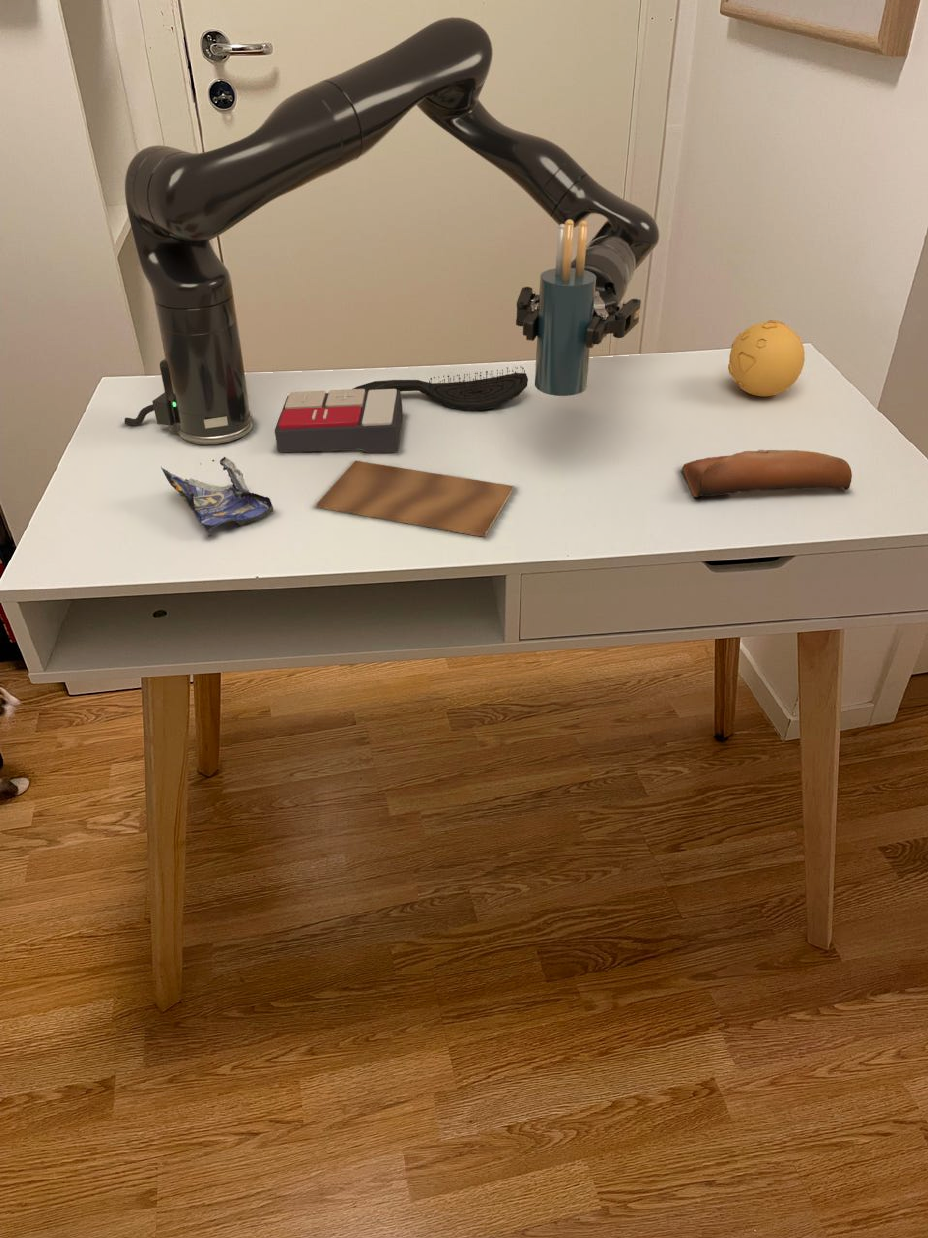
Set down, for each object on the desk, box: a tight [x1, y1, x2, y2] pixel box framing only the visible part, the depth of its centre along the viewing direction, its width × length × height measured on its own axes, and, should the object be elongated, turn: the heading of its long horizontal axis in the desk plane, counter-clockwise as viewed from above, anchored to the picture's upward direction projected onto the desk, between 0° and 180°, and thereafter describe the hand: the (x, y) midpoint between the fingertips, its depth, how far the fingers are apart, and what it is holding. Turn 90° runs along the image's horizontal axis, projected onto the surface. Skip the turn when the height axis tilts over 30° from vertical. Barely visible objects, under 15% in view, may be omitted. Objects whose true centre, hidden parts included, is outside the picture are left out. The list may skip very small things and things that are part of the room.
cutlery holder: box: [534, 219, 596, 397], centre depth 102 cm, size 6×6×18 cm
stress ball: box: [727, 319, 806, 397], centre depth 131 cm, size 10×10×10 cm
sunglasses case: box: [681, 449, 853, 499], centre depth 113 cm, size 18×7×7 cm, turn 96°
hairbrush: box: [352, 365, 529, 412], centre depth 132 cm, size 8×4×25 cm
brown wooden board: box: [316, 460, 514, 538], centre depth 111 cm, size 20×11×1 cm, turn 72°
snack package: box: [160, 456, 274, 538], centre depth 107 cm, size 12×6×12 cm
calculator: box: [274, 388, 404, 454], centre depth 123 cm, size 11×4×15 cm
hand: (559, 335), depth 101 cm, fingers closed on cutlery holder, 6 cm apart
